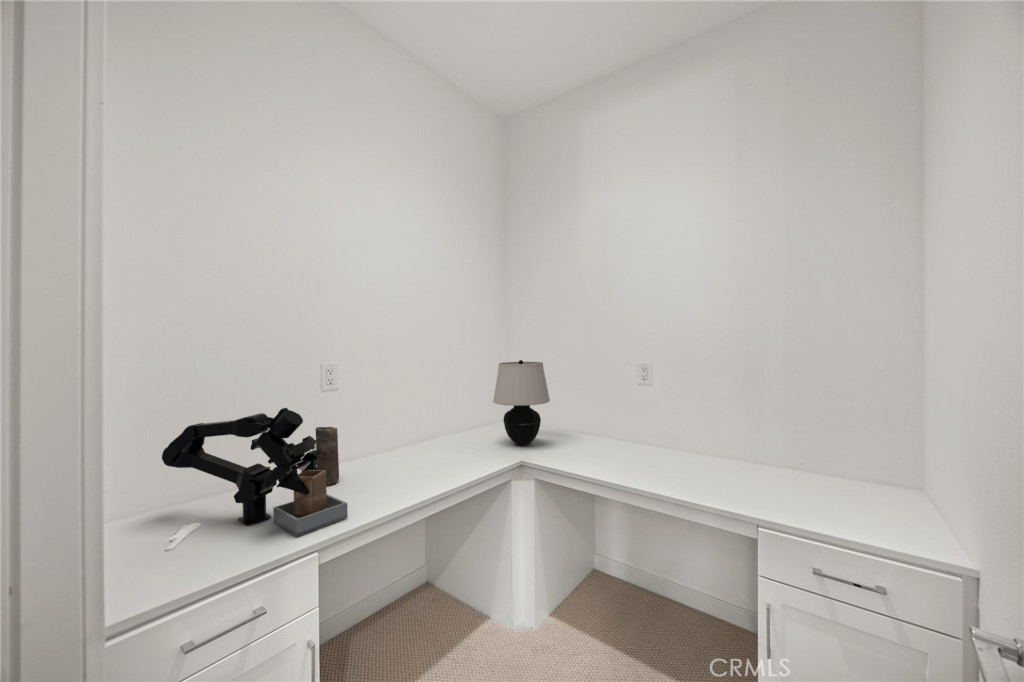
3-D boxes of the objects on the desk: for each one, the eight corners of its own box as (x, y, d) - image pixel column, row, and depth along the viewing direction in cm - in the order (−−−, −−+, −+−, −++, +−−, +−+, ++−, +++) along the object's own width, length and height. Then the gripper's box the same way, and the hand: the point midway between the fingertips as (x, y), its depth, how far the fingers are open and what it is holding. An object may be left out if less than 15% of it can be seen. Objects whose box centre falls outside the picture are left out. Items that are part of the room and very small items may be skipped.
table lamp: (497, 437, 212) (496, 359, 212) (551, 437, 209) (549, 358, 209) (489, 452, 185) (487, 362, 185) (550, 452, 182) (548, 361, 182)
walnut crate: (294, 516, 114) (293, 476, 114) (307, 507, 120) (306, 469, 120) (314, 517, 114) (313, 477, 114) (326, 508, 120) (326, 470, 120)
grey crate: (273, 523, 116) (273, 507, 116) (322, 507, 127) (322, 492, 127) (297, 537, 107) (296, 520, 107) (347, 518, 118) (347, 502, 118)
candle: (317, 481, 150) (315, 426, 150) (339, 478, 153) (337, 424, 153) (316, 488, 143) (315, 430, 143) (339, 484, 146) (338, 428, 146)
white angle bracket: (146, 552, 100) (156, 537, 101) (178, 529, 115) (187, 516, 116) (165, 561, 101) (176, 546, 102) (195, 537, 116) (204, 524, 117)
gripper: (273, 437, 108) (314, 480, 107) (315, 422, 127) (350, 459, 125) (245, 467, 109) (286, 510, 108) (291, 448, 127) (326, 485, 126)
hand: (314, 489), depth 117 cm, fingers closed on walnut crate, 6 cm apart
